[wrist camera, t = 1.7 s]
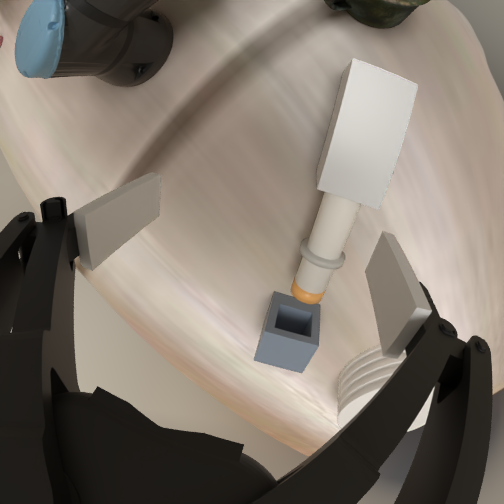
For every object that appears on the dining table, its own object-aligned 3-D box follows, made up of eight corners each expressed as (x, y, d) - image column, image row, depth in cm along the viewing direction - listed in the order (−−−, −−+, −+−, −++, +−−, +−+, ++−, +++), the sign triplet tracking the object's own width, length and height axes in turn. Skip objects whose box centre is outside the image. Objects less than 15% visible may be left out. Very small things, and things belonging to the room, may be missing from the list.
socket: (274, 291, 50) (264, 331, 41) (320, 304, 49) (318, 345, 40) (264, 321, 54) (253, 360, 45) (306, 332, 54) (302, 373, 45)
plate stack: (376, 412, 65) (377, 444, 55) (315, 378, 61) (311, 417, 51) (456, 367, 51) (467, 401, 41) (412, 317, 47) (425, 360, 37)
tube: (348, 76, 28) (355, 68, 23) (393, 94, 28) (409, 90, 22) (288, 275, 45) (283, 300, 39) (325, 286, 44) (326, 312, 39)
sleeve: (343, 71, 30) (353, 58, 22) (394, 90, 30) (418, 84, 21) (316, 172, 38) (317, 189, 30) (364, 188, 38) (378, 210, 29)
